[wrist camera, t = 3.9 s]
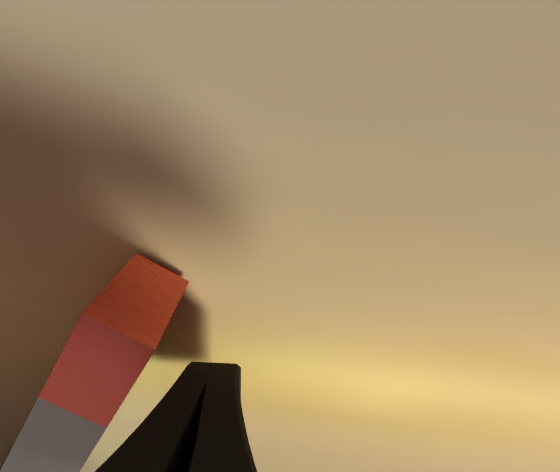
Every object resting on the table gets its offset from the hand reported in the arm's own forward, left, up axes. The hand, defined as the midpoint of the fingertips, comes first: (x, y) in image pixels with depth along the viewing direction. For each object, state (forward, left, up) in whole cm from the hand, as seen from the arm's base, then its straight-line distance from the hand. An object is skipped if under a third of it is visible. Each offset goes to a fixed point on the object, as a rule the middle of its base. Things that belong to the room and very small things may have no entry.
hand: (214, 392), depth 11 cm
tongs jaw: (-2, +5, -1) cm, 5 cm away
